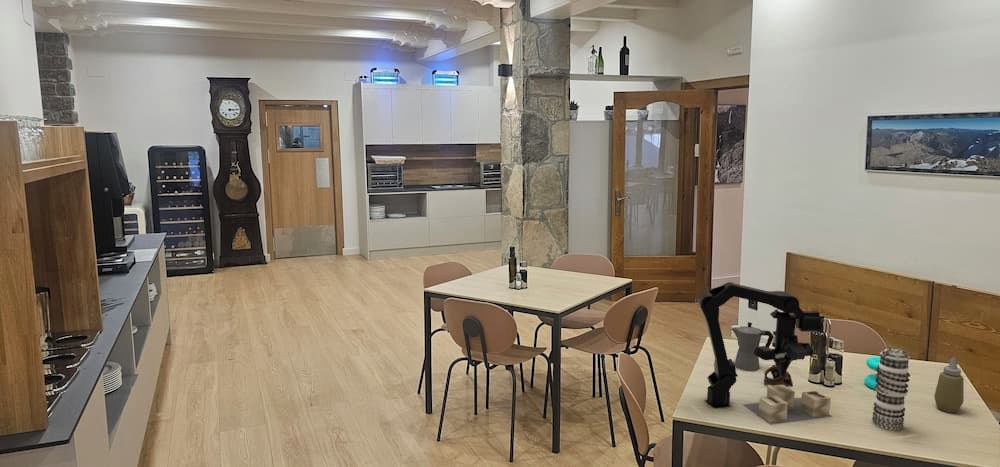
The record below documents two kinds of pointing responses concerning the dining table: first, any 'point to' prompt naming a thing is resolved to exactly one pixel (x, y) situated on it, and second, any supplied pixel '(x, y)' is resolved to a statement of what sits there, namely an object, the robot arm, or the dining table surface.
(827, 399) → the numbered block seven
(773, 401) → the numbered block one
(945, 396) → the squeeze bottle
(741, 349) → the coffeepot
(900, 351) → the striped patterned cylinder
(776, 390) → the plain block
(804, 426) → the dining table surface
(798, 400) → the charcoal mat
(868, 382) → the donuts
